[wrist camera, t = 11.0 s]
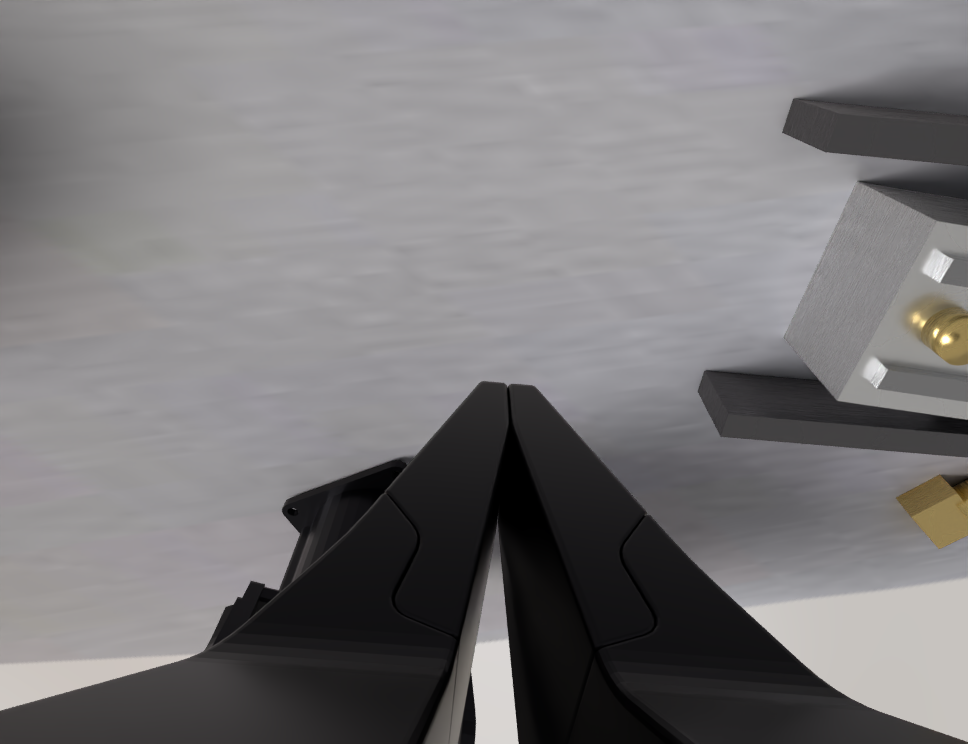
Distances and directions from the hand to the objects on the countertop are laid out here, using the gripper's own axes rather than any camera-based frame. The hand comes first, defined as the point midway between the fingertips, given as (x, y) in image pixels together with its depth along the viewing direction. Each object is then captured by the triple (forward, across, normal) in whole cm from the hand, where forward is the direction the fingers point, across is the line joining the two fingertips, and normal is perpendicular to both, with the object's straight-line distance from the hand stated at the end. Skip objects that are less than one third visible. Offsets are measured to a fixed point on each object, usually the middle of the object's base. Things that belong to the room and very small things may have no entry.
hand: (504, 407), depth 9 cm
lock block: (+13, -15, +2) cm, 20 cm away
